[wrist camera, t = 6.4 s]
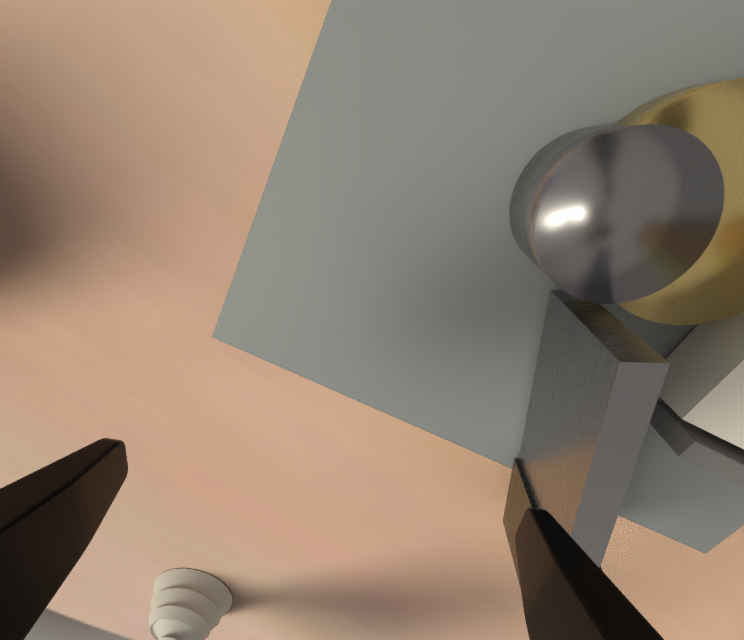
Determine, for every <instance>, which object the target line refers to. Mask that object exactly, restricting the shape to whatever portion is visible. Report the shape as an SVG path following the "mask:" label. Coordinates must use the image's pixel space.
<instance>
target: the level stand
mask: <svg viewBox="0 0 744 640" xmlns="http://www.w3.org/2000/svg"><path fill="white" fill-rule="evenodd" d="M740 78H744V0H332V1H331V4H330V7H329V9H328V12H327V15H326V18H325V21H324V23H323V26H322V29H321V32H320V35H319V37H318V40H317V43H316V46H315V49H314V52H313V54H312V57H311V60H310V63H309V66H308V68H307V71H306V74H305V77H304V80H303V83H302V85H301V88H300V91H299V94H298V97H297V99H296V102H295V105H294V108H293V111H292V113H291V116H290V119H289V122H288V125H287V128H286V130H285V133H284V136H283V139H282V142H281V144H280V147H279V150H278V153H277V156H276V158H275V161H274V164H273V167H272V170H271V173H270V175H269V178H268V181H267V184H266V187H265V189H264V192H263V195H262V198H261V201H260V204H259V206H258V209H257V212H256V215H255V218H254V220H253V223H252V226H251V229H250V232H249V234H248V237H247V240H246V243H245V246H244V249H243V251H242V254H241V257H240V260H239V263H238V265H237V268H236V271H235V274H234V277H233V280H232V282H231V285H230V288H229V291H228V294H227V296H226V299H225V302H224V305H223V308H222V310H221V313H220V316H219V319H218V322H217V325H216V327H215V330H214V333H213V336H212V337H213V338H215V339H218V340H220V341H222V342H224V343H227V344H229V345H231V346H234V347H236V348H238V349H240V350H243V351H245V352H247V353H250V354H252V355H254V356H256V357H259V358H261V359H263V360H265V361H268V362H270V363H272V364H275V365H277V366H279V367H281V368H284V369H286V370H288V371H291V372H293V373H295V374H297V375H300V376H302V377H304V378H307V379H309V380H311V381H313V382H316V383H318V384H320V385H322V386H325V387H327V388H329V389H332V390H334V391H336V392H338V393H341V394H343V395H345V396H348V397H350V398H352V399H354V400H357V401H359V402H361V403H363V404H366V405H368V406H370V407H373V408H375V409H377V410H379V411H382V412H384V413H386V414H389V415H391V416H393V417H395V418H398V419H400V420H402V421H405V422H407V423H409V424H411V425H414V426H416V427H418V428H420V429H423V430H425V431H427V432H430V433H432V434H434V435H436V436H439V437H441V438H443V439H446V440H448V441H450V442H452V443H455V444H457V445H459V446H461V447H464V448H466V449H468V450H471V451H473V452H475V453H477V454H480V455H482V456H484V457H487V458H489V459H491V460H493V461H496V462H498V463H500V464H503V465H505V466H507V467H509V468H513V462H514V458H519V455H520V449H521V444H522V438H523V433H524V428H525V422H526V417H527V412H528V406H529V401H530V396H531V390H532V385H533V380H534V374H535V369H536V364H537V358H538V353H539V348H540V342H541V337H542V332H543V326H544V321H545V315H546V310H547V305H548V299H549V294H550V290H562V289H560V288H559V287H558V286H557V285H556V284H555V283H554V282H553V281H552V280H551V279H550V278H549V277H548V276H546V275H545V274H544V273H543V272H542V271H541V270H540V269H539V268H538V267H537V266H536V265H535V264H534V263H533V262H532V261H531V260H530V259H529V258H528V257H527V256H526V255H525V254H524V253H523V252H522V251H521V249H520V248H519V247H518V245H517V243H516V241H515V239H514V236H513V234H512V231H511V226H510V217H509V210H510V201H511V196H512V193H513V190H514V187H515V184H516V182H517V180H518V178H519V176H520V174H521V172H522V171H523V169H524V167H525V166H526V165H527V164H528V162H529V161H530V160H531V158H532V157H533V156H534V155H535V154H536V153H537V152H538V151H539V150H541V149H542V148H543V147H544V146H545V145H547V144H548V143H550V142H551V141H553V140H554V139H556V138H557V137H559V136H561V135H564V134H566V133H568V132H571V131H574V130H577V129H581V128H586V127H595V126H614V125H615V124H616V123H617V122H618V121H620V120H621V119H622V118H623V117H625V116H626V115H627V114H629V113H630V112H631V111H633V110H635V109H636V108H638V107H639V106H641V105H643V104H644V103H646V102H648V101H650V100H652V99H654V98H656V97H658V96H660V95H663V94H666V93H669V92H672V91H675V90H678V89H683V88H687V87H692V86H697V85H703V84H710V83H716V82H722V81H728V80H734V79H740ZM600 304H601V303H600ZM601 305H602V306H603V307H604V308H605V309H607V310H608V311H609V312H610V313H611V314H612V315H614V316H615V317H616V318H617V319H618V320H620V321H621V322H622V323H623V324H624V325H625V326H627V327H628V328H629V329H630V330H631V331H632V332H634V333H635V334H636V335H637V336H638V337H640V338H641V339H642V340H643V341H644V342H645V343H647V344H648V345H649V346H650V347H651V348H652V349H654V350H655V351H656V352H657V353H658V354H660V355H661V356H662V357H663V358H664V359H666V358H667V357H668V356H669V355H670V354H671V353H672V352H673V351H674V350H675V349H676V347H677V346H678V345H679V344H680V343H681V342H682V341H683V340H684V339H685V338H686V337H687V336H688V335H689V334H690V333H691V332H692V331H693V329H694V328H695V327H696V326H697V325H698V324H696V325H669V324H662V323H657V322H652V321H649V320H646V319H643V318H640V317H638V316H636V315H634V314H632V313H630V312H628V311H627V310H625V309H624V308H623V307H621V306H620V305H618V304H601ZM618 515H619V516H621V517H623V518H626V519H628V520H630V521H632V522H635V523H637V524H639V525H642V526H644V527H646V528H648V529H651V530H653V531H655V532H657V533H660V534H662V535H664V536H667V537H669V538H671V539H673V540H676V541H678V542H680V543H683V544H685V545H687V546H689V547H692V548H694V549H696V550H698V551H701V552H703V553H705V554H706V553H707V552H708V551H710V550H711V549H712V548H714V547H715V546H716V545H718V544H719V543H720V542H722V541H723V540H724V539H725V538H727V537H728V536H729V535H731V534H732V533H733V532H735V531H736V530H737V529H739V528H740V527H741V526H743V525H744V449H742V448H740V447H738V446H736V445H734V444H732V443H730V442H728V441H726V440H724V439H721V438H719V437H717V436H715V435H713V434H711V433H709V432H707V431H705V430H703V429H701V428H699V427H697V426H695V425H693V424H691V423H689V422H687V421H685V420H683V419H681V418H680V417H679V416H678V415H677V414H676V413H675V412H674V411H673V410H672V409H671V408H670V407H669V406H668V405H667V404H666V403H665V402H664V401H663V400H662V399H661V397H660V396H659V397H658V400H657V403H656V406H655V409H654V411H653V414H652V417H651V420H650V423H649V426H648V429H647V432H646V435H645V438H644V441H643V443H642V446H641V449H640V452H639V455H638V458H637V461H636V464H635V467H634V470H633V472H632V475H631V478H630V481H629V484H628V487H627V490H626V493H625V496H624V499H623V502H622V504H621V507H620V510H619V513H618Z"/></svg>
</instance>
